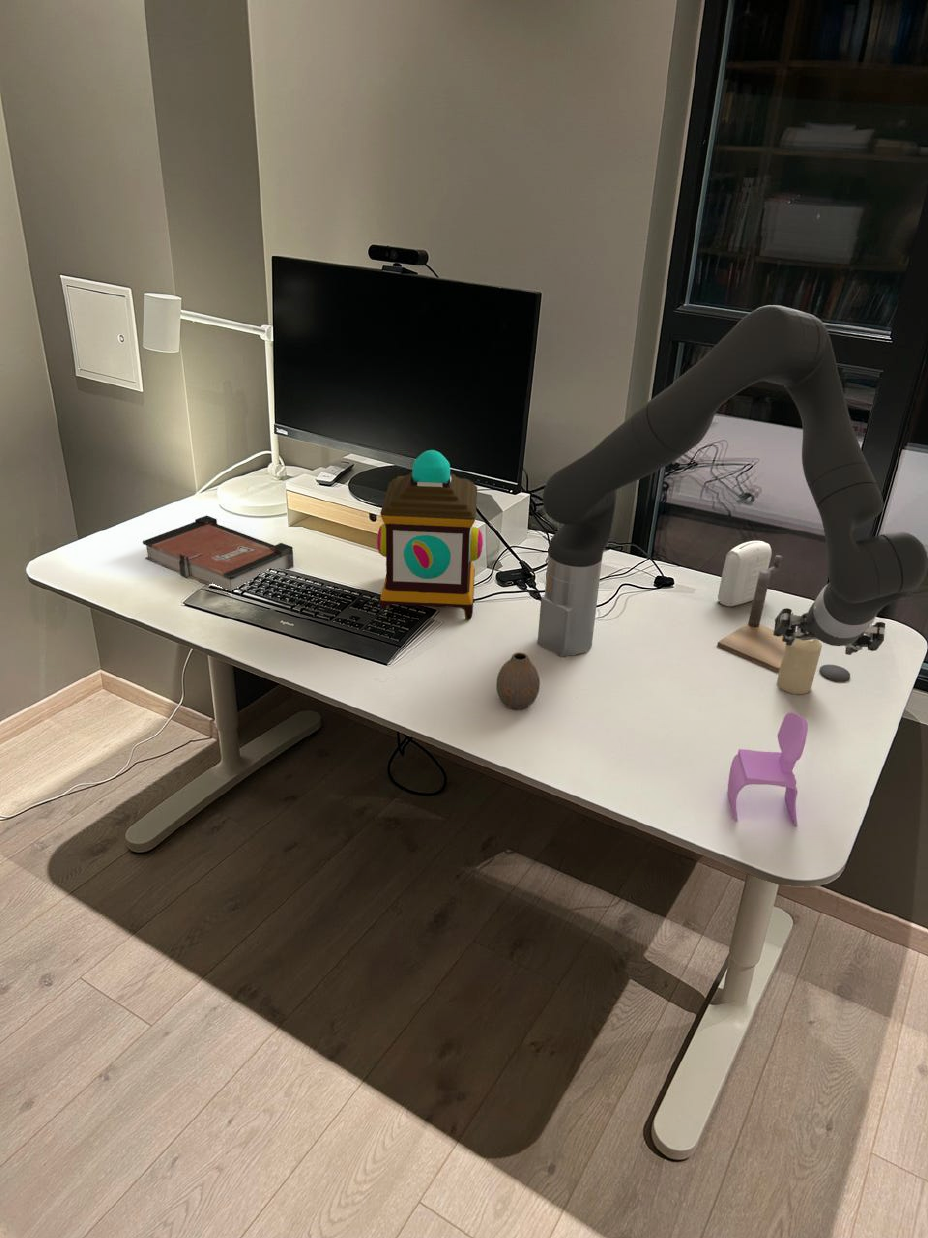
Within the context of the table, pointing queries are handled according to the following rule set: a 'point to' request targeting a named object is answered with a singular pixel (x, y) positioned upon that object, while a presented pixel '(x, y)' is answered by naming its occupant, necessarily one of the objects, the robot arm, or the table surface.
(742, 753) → the toy chair
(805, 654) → the candle
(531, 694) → the vase
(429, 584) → the decorative lantern
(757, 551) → the photo printer
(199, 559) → the book
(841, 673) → the pad
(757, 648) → the stand with wooden base
